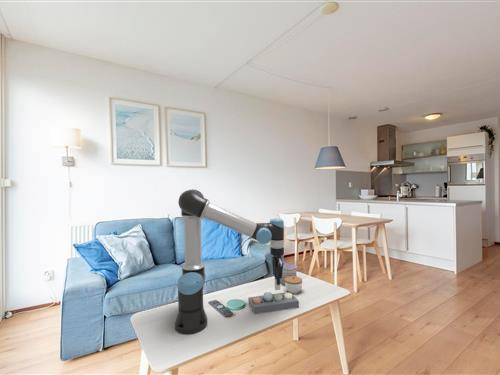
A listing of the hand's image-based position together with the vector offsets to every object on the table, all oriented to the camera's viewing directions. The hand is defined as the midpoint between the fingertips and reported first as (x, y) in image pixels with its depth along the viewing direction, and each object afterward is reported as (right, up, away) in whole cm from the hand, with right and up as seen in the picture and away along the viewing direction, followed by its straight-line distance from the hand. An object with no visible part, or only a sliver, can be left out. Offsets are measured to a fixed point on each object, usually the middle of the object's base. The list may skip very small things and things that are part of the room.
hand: (277, 289), depth 140 cm
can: (+11, -8, +30) cm, 32 cm away
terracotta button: (-11, -7, -3) cm, 14 cm away
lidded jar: (+12, -8, +17) cm, 22 cm away
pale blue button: (-5, -5, -1) cm, 8 cm away
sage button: (0, -7, 0) cm, 7 cm away
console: (-2, -9, -1) cm, 9 cm away
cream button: (+6, -7, +2) cm, 9 cm away
